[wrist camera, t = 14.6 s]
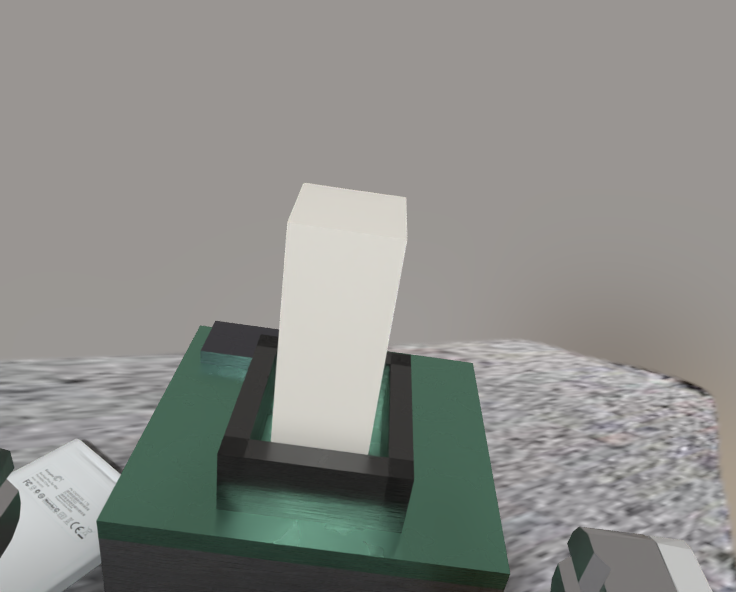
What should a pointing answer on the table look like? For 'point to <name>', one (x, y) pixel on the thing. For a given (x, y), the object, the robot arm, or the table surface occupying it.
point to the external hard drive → (57, 519)
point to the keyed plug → (336, 315)
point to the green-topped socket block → (304, 486)
